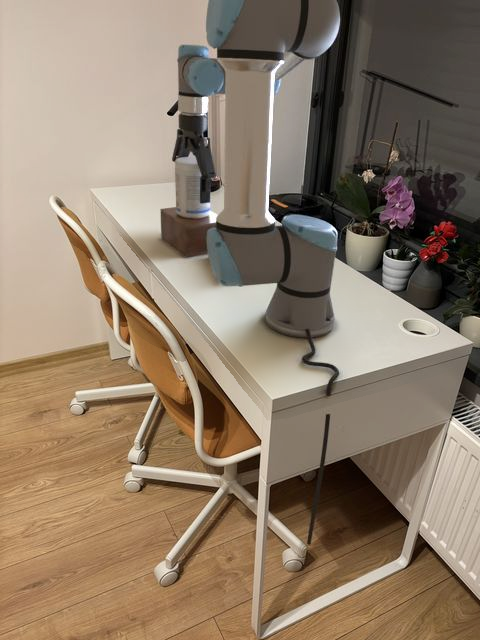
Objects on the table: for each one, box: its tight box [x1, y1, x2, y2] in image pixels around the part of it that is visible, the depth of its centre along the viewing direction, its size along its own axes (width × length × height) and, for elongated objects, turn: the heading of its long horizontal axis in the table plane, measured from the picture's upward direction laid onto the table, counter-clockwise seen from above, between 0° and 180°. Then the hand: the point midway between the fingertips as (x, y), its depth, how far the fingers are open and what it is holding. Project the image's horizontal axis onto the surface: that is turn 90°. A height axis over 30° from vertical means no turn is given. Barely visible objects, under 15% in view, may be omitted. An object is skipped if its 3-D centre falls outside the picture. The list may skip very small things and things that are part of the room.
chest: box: [160, 211, 216, 258], centre depth 158 cm, size 16×13×8 cm
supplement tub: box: [174, 156, 211, 219], centre depth 151 cm, size 10×10×15 cm
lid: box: [160, 206, 219, 229], centre depth 155 cm, size 16×13×1 cm
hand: (193, 196), depth 153 cm, fingers open, 13 cm apart
